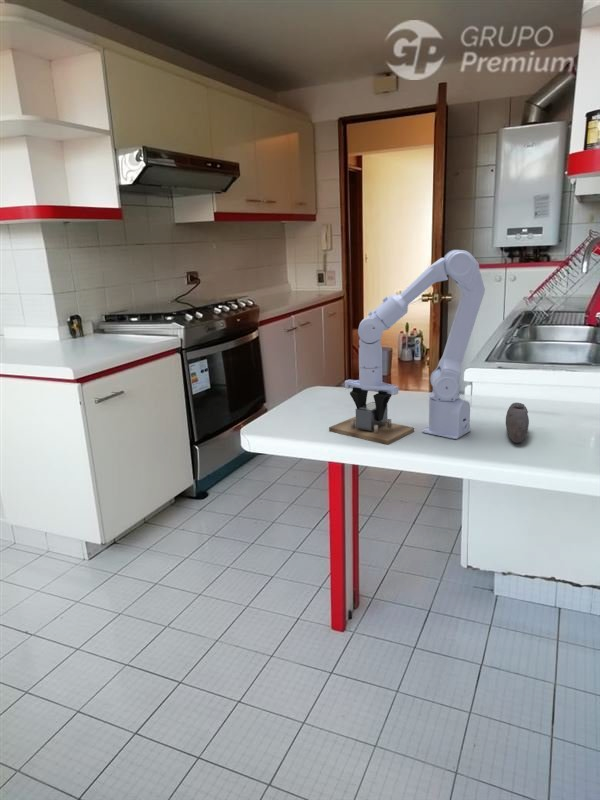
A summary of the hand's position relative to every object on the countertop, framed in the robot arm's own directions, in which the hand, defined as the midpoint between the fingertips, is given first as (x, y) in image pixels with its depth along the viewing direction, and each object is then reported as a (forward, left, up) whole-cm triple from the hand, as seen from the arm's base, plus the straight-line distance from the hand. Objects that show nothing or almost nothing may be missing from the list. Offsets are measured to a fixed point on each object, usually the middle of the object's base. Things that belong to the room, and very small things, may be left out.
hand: (371, 418), depth 143 cm
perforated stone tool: (-31, -16, -4) cm, 35 cm away
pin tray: (0, 0, -3) cm, 3 cm away
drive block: (0, 0, -2) cm, 2 cm away
